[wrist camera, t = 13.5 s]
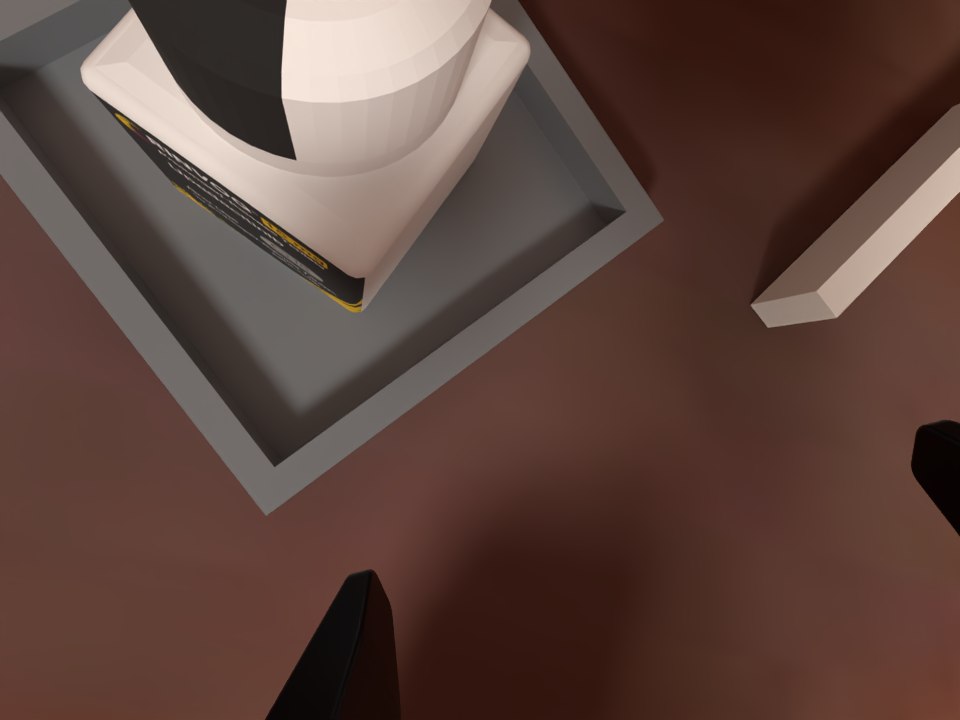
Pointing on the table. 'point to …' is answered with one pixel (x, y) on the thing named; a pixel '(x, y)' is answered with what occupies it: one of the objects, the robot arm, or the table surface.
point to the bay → (869, 232)
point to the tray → (280, 291)
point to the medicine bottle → (312, 117)
